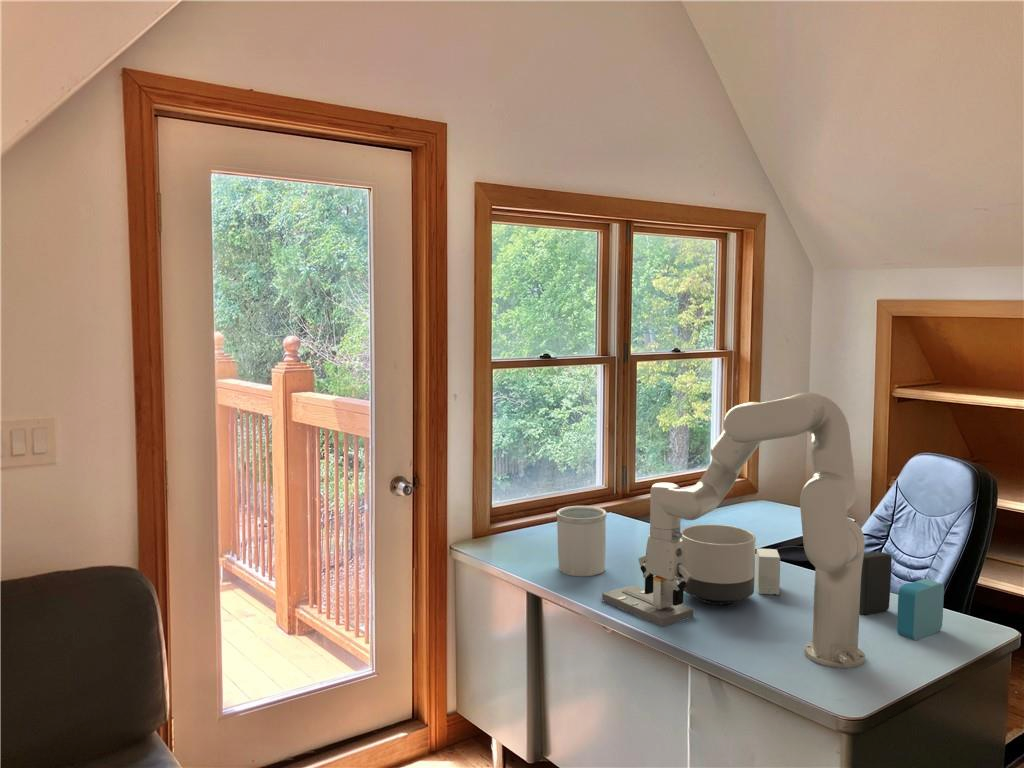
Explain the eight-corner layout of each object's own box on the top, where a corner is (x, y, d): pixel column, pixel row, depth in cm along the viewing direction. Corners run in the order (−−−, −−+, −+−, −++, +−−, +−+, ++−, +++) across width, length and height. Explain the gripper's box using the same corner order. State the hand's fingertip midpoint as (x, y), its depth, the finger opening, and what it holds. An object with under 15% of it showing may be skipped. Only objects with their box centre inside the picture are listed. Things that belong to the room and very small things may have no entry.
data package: (924, 624, 205) (926, 577, 204) (942, 630, 201) (945, 582, 200) (895, 635, 198) (898, 586, 197) (913, 641, 195) (916, 592, 193)
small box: (779, 595, 225) (780, 557, 224) (758, 594, 226) (759, 556, 225) (776, 585, 233) (777, 548, 232) (755, 584, 234) (756, 547, 233)
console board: (693, 616, 210) (693, 608, 210) (662, 626, 204) (662, 618, 204) (632, 591, 228) (632, 584, 228) (602, 600, 222) (602, 592, 221)
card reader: (879, 606, 217) (881, 550, 215) (891, 611, 213) (893, 554, 212) (851, 611, 214) (853, 554, 212) (863, 616, 210) (865, 558, 208)
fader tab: (674, 605, 211) (674, 575, 210) (660, 609, 208) (660, 579, 208) (667, 602, 213) (667, 572, 212) (653, 606, 210) (653, 576, 210)
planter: (753, 589, 229) (755, 527, 228) (754, 615, 211) (756, 547, 209) (682, 583, 235) (683, 522, 233) (676, 608, 216) (677, 541, 214)
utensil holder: (551, 575, 242) (551, 516, 240) (560, 559, 256) (561, 504, 254) (602, 579, 238) (602, 519, 236) (608, 563, 253) (609, 506, 251)
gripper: (701, 538, 204) (700, 605, 206) (651, 522, 218) (649, 586, 220) (680, 543, 200) (678, 612, 201) (630, 527, 214) (629, 591, 215)
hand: (663, 598), depth 211 cm, fingers open, 9 cm apart
